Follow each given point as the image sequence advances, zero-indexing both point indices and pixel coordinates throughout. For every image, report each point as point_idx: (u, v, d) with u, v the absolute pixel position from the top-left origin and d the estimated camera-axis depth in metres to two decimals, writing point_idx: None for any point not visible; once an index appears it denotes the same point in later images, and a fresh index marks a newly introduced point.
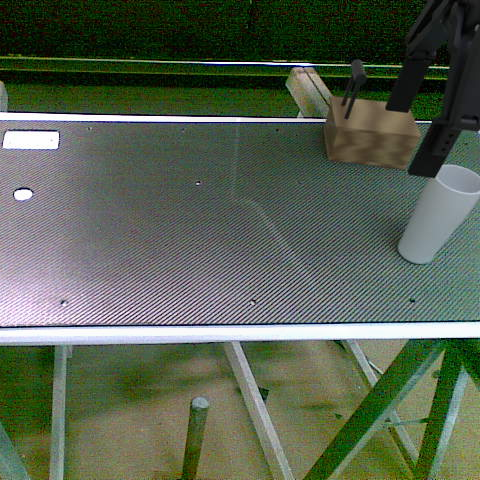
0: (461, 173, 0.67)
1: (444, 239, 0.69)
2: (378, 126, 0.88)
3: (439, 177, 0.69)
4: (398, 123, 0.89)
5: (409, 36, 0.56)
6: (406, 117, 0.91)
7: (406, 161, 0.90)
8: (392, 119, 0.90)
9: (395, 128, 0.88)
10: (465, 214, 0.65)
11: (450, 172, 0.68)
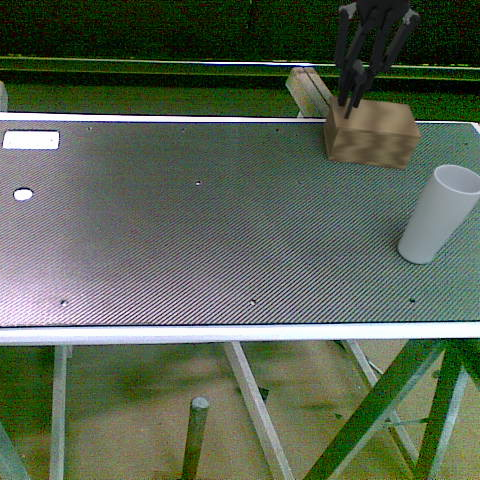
0: (461, 173, 0.67)
1: (444, 239, 0.69)
2: (378, 126, 0.88)
3: (439, 177, 0.69)
4: (398, 123, 0.89)
5: None
6: (406, 117, 0.91)
7: (406, 161, 0.90)
8: (392, 119, 0.90)
9: (395, 128, 0.88)
10: (465, 214, 0.65)
11: (450, 172, 0.68)
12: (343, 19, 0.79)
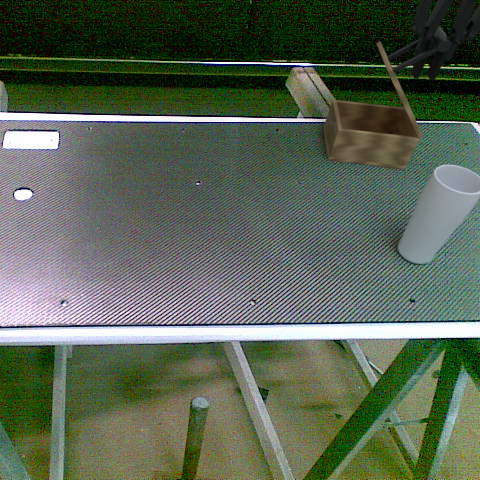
0: (461, 173, 0.67)
1: (444, 239, 0.69)
2: (406, 101, 0.84)
3: (439, 177, 0.69)
4: None
5: None
6: (412, 113, 0.90)
7: (406, 161, 0.90)
8: (409, 105, 0.87)
9: (412, 114, 0.85)
10: (465, 214, 0.65)
11: (450, 172, 0.68)
12: None
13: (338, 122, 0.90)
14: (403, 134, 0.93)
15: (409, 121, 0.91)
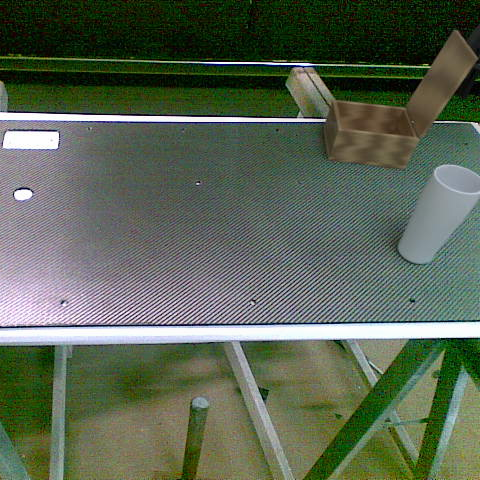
0: (461, 173, 0.67)
1: (444, 239, 0.69)
2: None
3: (439, 177, 0.69)
4: None
5: None
6: None
7: (406, 161, 0.90)
8: None
9: None
10: (465, 214, 0.65)
11: (450, 172, 0.68)
12: None
13: (338, 122, 0.90)
14: (403, 134, 0.93)
15: (409, 121, 0.91)
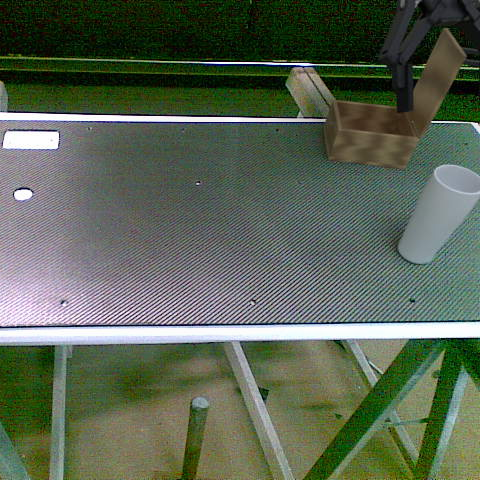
0: (461, 173, 0.67)
1: (444, 239, 0.69)
2: None
3: (439, 177, 0.69)
4: None
5: None
6: None
7: (406, 161, 0.90)
8: None
9: None
10: (465, 214, 0.65)
11: (450, 172, 0.68)
12: (411, 1, 0.66)
13: (338, 122, 0.90)
14: (403, 134, 0.93)
15: (409, 121, 0.91)
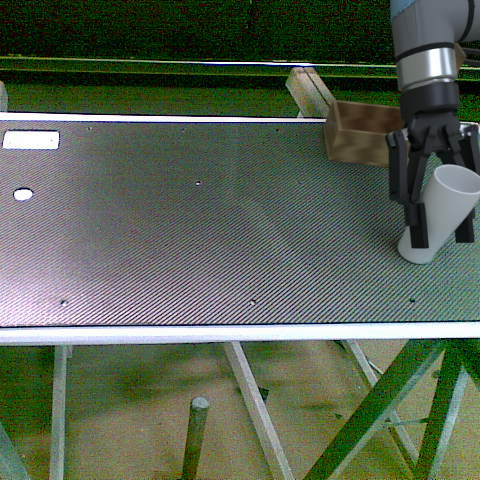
0: (461, 173, 0.67)
1: (444, 239, 0.69)
2: None
3: (439, 177, 0.69)
4: None
5: None
6: None
7: None
8: None
9: None
10: (465, 214, 0.65)
11: (450, 172, 0.68)
12: (400, 140, 0.67)
13: (338, 122, 0.90)
14: None
15: None
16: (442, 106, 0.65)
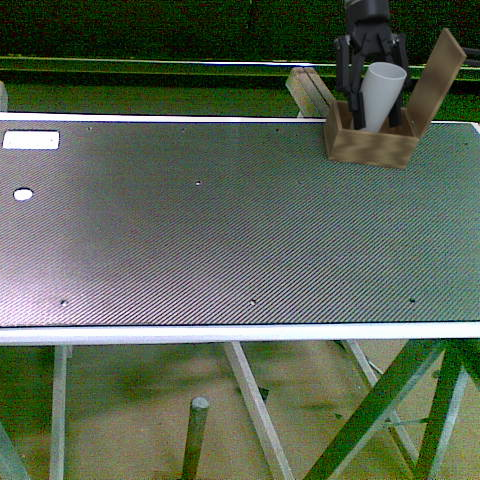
0: (391, 69, 0.87)
1: (379, 123, 0.89)
2: None
3: (374, 73, 0.88)
4: None
5: None
6: None
7: (406, 161, 0.90)
8: None
9: None
10: (392, 98, 0.85)
11: (382, 69, 0.88)
12: (343, 43, 0.87)
13: (338, 122, 0.90)
14: (403, 134, 0.93)
15: (409, 121, 0.91)
16: (375, 15, 0.85)
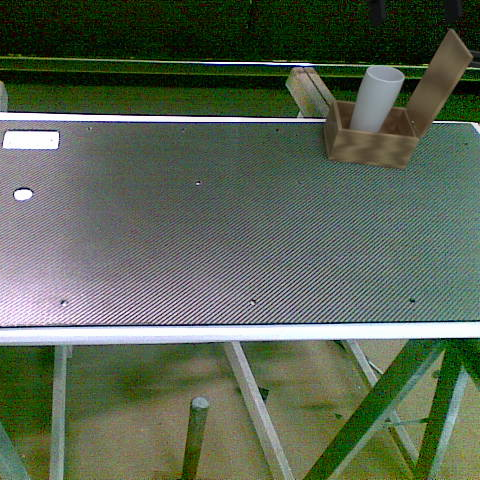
0: (389, 72, 0.87)
1: (377, 125, 0.89)
2: None
3: (373, 76, 0.89)
4: None
5: None
6: None
7: (406, 161, 0.90)
8: None
9: None
10: (390, 101, 0.86)
11: (381, 72, 0.88)
12: None
13: (338, 122, 0.90)
14: (403, 134, 0.93)
15: (409, 121, 0.91)
16: None
